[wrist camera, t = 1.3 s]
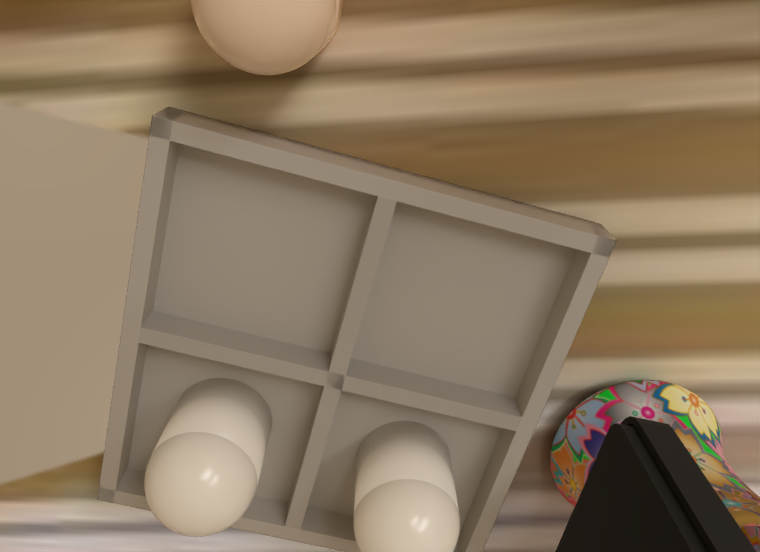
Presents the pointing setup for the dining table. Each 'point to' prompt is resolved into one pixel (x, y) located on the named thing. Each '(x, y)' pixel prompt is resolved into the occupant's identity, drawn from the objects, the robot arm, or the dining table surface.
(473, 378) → the carton
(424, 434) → the egg
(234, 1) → the egg
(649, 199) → the dining table surface
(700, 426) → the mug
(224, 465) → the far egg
